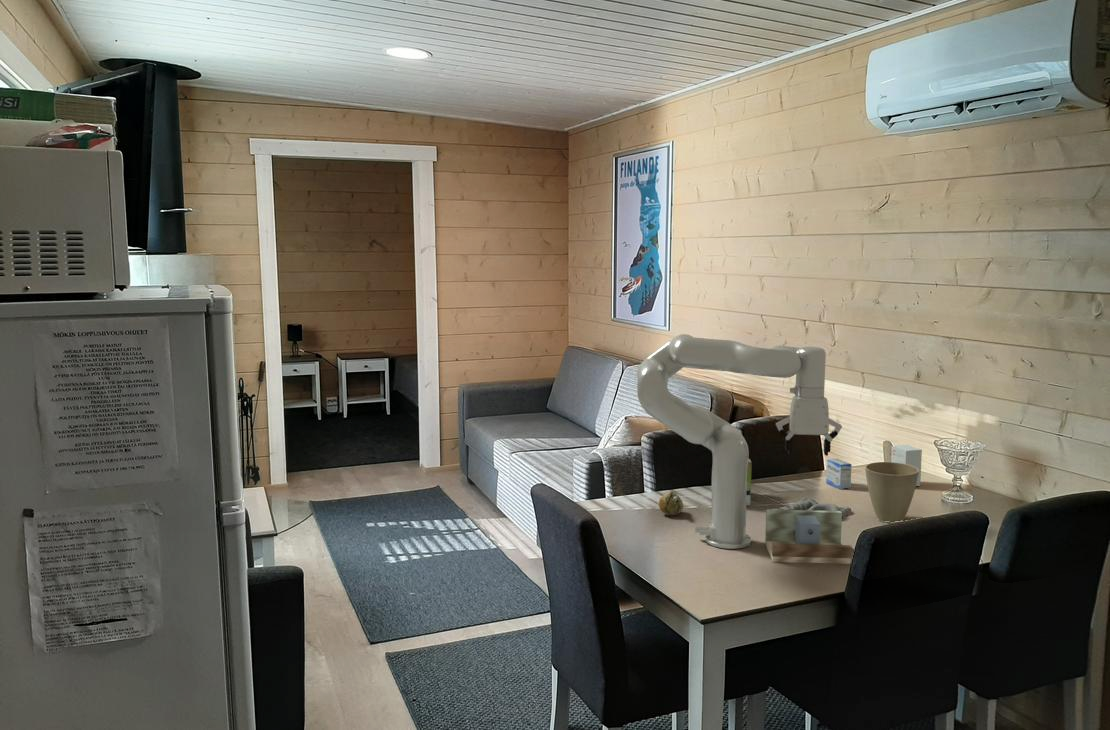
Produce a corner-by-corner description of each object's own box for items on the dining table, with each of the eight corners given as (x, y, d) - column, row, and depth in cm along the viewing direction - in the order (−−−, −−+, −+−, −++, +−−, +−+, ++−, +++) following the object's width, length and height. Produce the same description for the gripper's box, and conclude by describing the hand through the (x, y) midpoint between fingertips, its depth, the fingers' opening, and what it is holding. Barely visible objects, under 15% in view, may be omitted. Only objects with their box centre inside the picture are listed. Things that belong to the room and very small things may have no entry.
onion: (688, 513, 257) (688, 488, 255) (675, 520, 250) (675, 494, 249) (667, 508, 261) (668, 484, 260) (654, 515, 255) (654, 490, 254)
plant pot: (878, 508, 258) (880, 459, 256) (925, 519, 247) (927, 468, 245) (853, 519, 249) (855, 468, 246) (901, 531, 238) (904, 477, 235)
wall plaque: (823, 534, 237) (824, 521, 237) (765, 520, 251) (765, 507, 250) (860, 515, 254) (860, 503, 253) (803, 502, 267) (803, 491, 267)
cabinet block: (800, 553, 218) (801, 524, 217) (795, 543, 225) (795, 515, 224) (819, 554, 217) (820, 525, 216) (813, 543, 225) (814, 515, 223)
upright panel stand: (772, 561, 216) (773, 525, 215) (765, 544, 229) (766, 509, 228) (851, 563, 214) (852, 526, 213) (839, 545, 227) (840, 510, 226)
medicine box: (825, 483, 286) (826, 459, 285) (836, 482, 288) (837, 458, 286) (839, 489, 279) (840, 464, 278) (851, 488, 280) (852, 463, 279)
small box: (920, 486, 281) (922, 449, 279) (904, 488, 279) (906, 450, 277) (905, 480, 288) (907, 444, 286) (889, 481, 287) (891, 445, 285)
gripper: (778, 394, 222) (776, 456, 224) (845, 395, 219) (842, 458, 221) (775, 389, 229) (773, 449, 231) (840, 390, 226) (838, 451, 229)
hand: (807, 453), depth 226 cm, fingers open, 9 cm apart
